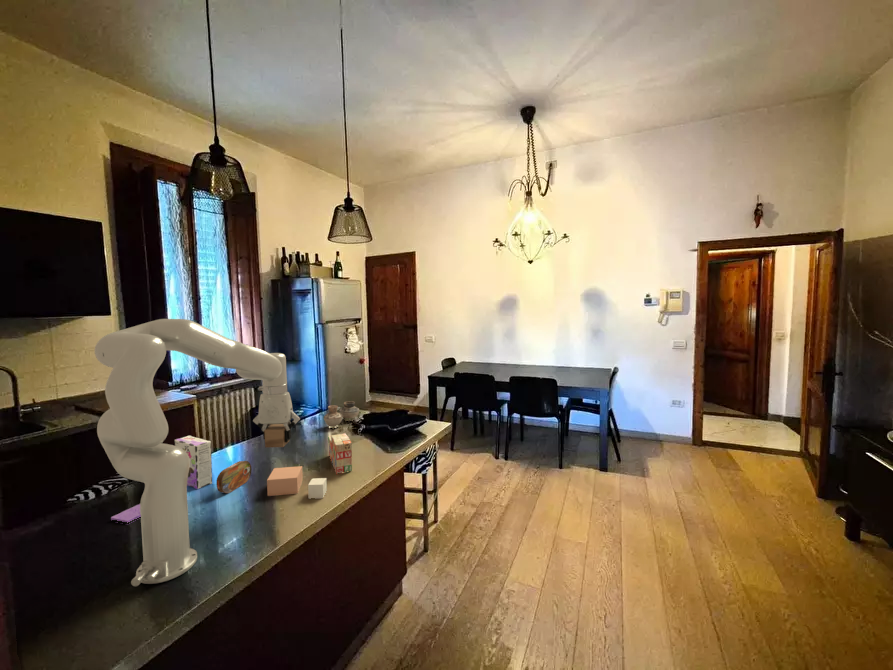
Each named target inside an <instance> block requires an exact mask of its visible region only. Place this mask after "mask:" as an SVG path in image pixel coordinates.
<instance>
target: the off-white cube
mask: <svg viewBox="0 0 893 670" xmlns="http://www.w3.org/2000/svg"><path fill="white" fill-rule="evenodd" d="M307 485H308V486H307V488H308V489H307V490H308V491H307V494H308V496H307V497H308V500H309V499H310V500H311V498H315V499H324V498H323V497H325V496H324V495H326V494H325V493H327V492H326V491H327V487H328V486H327V477H317V478H311V480H310V481H309V483H308V484H307Z"/></svg>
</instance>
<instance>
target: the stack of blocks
mask: <svg viewBox="0 0 893 670" xmlns="http://www.w3.org/2000/svg"><path fill="white" fill-rule="evenodd" d="M327 439H328V440H327V442H328V443H327V444H328V457H329V456H330V457H329V459H331V460H330V462H331V461H332V462H331V464H332V463H333V464H332V466H334V467H333V470H334V469H335V470H334V473H335V475H338V474H337V473H342V472H347V471H352V470H353V464H352V460H353V459H352V458H353V457H352V454H353V452H352V451H353V450H352V444H353V443H352V441H351V439H350V437H349V436H348V435H347V434H346V432H344V433H338V434H332V435H328V436H327ZM347 473H348V472H347ZM342 474H343V473H342Z"/></svg>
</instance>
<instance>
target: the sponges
mask: <svg viewBox="0 0 893 670" xmlns="http://www.w3.org/2000/svg"><path fill="white" fill-rule="evenodd" d="M139 517H141V514H140V503H139V504H136V505H134V506H133V507H130V508H127V509H125V510H123V511H121V512H120V513H118V514H115V515H113V516H111V517H110V520H111V521H112V520H117V521H122V522H127V523H128V522H130V521H132V520H134V519H137V518H139ZM139 519H140V518H139ZM137 520H138V519H137Z"/></svg>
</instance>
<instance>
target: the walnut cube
mask: <svg viewBox="0 0 893 670" xmlns="http://www.w3.org/2000/svg"><path fill="white" fill-rule="evenodd" d="M285 430H286V429H285V427H284V424H270V425H269V427H268V428H266V429H265V430H264V432H265V439H264V447H265V448H284V447H285V446H286V445H287V444H288V443H289V442H290V440H289V441H288V442H285Z"/></svg>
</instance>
